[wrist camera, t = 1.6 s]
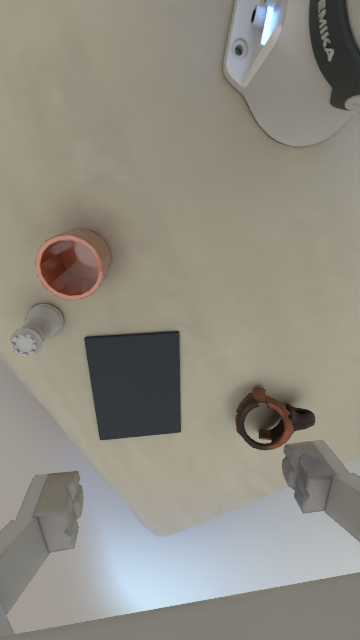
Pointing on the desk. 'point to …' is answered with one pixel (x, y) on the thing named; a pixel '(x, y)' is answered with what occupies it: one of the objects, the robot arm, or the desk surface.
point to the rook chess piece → (37, 329)
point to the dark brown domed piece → (283, 430)
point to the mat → (135, 384)
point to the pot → (73, 263)
